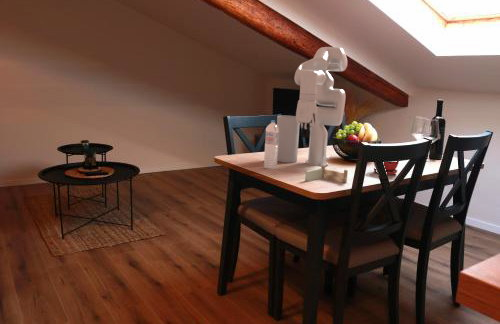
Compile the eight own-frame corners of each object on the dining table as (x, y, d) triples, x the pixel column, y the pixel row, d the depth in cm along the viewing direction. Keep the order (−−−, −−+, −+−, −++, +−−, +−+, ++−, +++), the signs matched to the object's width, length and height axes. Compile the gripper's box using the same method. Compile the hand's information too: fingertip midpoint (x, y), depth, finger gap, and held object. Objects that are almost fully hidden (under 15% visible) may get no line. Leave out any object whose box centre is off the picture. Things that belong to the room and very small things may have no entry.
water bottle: (260, 168, 216) (263, 119, 210) (270, 166, 220) (273, 119, 215) (269, 171, 211) (272, 121, 205) (279, 169, 215) (282, 120, 210)
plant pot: (392, 170, 224) (394, 148, 222) (401, 176, 212) (404, 153, 209) (367, 169, 224) (370, 147, 222) (375, 175, 211) (378, 152, 209)
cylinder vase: (297, 163, 231) (301, 118, 226) (275, 162, 231) (277, 117, 226) (295, 159, 243) (299, 116, 238) (274, 158, 243) (276, 115, 238)
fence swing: (319, 177, 198) (320, 168, 197) (322, 178, 197) (322, 168, 196) (304, 180, 191) (305, 171, 190) (307, 181, 189) (307, 171, 188)
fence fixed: (319, 177, 199) (320, 165, 198) (321, 177, 200) (323, 164, 199) (345, 183, 190) (346, 170, 188) (347, 183, 191) (348, 170, 190)
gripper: (291, 96, 197) (289, 135, 201) (311, 99, 184) (308, 140, 188) (304, 96, 200) (301, 134, 205) (324, 99, 188) (321, 139, 192)
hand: (305, 137), depth 196 cm, fingers closed
